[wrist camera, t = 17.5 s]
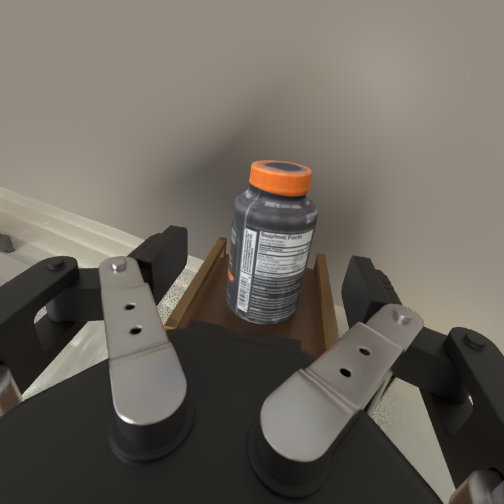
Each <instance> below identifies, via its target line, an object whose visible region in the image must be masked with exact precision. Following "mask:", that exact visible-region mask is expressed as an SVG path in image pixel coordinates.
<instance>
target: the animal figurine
mask: <svg viewBox="0 0 504 504" xmlns="http://www.w3.org/2000/svg"><path fill="white" fill-rule="evenodd" d="M0 248H1V249H3V250H5V251H7V252H12V251H14V247H13V244H12V241H11V238H10V236H7V235H1V234H0Z"/></svg>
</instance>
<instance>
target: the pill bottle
mask: <svg viewBox="0 0 504 504" xmlns="http://www.w3.org/2000/svg"><path fill="white" fill-rule="evenodd" d="M311 176H312V171H311V169H309V168H308V167H305V166H302V165H299V164H295V163H290V162H283V161H270V160H264V161H256V162H254V163H253V164H252V166H251V175H250V179H249V182H250V187H249V189H248V190H247V191H245V192H243V193H241V194H240V195H239V196H238V197H237V198H236V200H235V202H234V206H233V217H232V228H231V243H230V254H229V267H228V280H227V302H228V305H229V307H230V308H231V310H232V311H233V312H234V313H235V314H236V315H238V316H239V317H241V318H243V319H245V320H247V321H249V322H253V323H257V324H277V323H280V322H283V321H285V320H287V319H289V318H290V317H291V316H292V315H293V314H294V312H295V311H296V308H297V304H298V300H299V296H300V292H301V288H302V283H303V279H304V275H305V270H306V266H307V262H308V257H309V253H310V248H311V244H312V239H313V235H314V231H315V226H316V222H317V217H318V213H317V208H316V206H315V205H314V203H313V202H312V201H311V200H310V199H308V198H307V197H306V194H307V192H308V190H309V189H310V182H311Z"/></svg>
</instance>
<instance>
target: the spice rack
mask: <svg viewBox="0 0 504 504" xmlns="http://www.w3.org/2000/svg"><path fill="white" fill-rule="evenodd" d="M226 240H227V238H221V237H219V239H218V240H217V242H216V243H215V245H214V247H213V248H212V250H211V251H210V253H209V255H208V256H207V258H206V260H205V261H204V263H203V264H202V266H201V267H200V269H199V271H198V272H197V274H196V275H195V277H194V278H193V280H192V282H191V283H190V285H189V286H188V288H187V290H186V291H185V293H184V294H183V296H182V298H181V299H180V301H179V302H178V304H177V305H176V307H175V309H174V310H173V312H172V313H171V315H170V317H169V318H168V320H167V321H166V323H165V325H164V329H165V331H166V330H170V329H175V328H183V327H188V325H189V323H190V321H191V320H196V321H201V322H207V323H212V324H217V325H220V326H222V327H225V328H227V329H230V330H232V331H235V332H237V333H239V334H242V335H275V336H280V337H285V338H290V339H296V340H301V349H302V350H304V351H306V352H308V353H310V354H312V355H313V356H315V357H316V358H319V357H320V356H321V355H322V354H323V353H324V352H325V351H327V350H328V349H329V348H330V347H331V346H332V345H333V344H334V343H335V342H336V341H338V340H339V333H338V327H337V322H336V316H335V310H334V304H333V298H332V293H331V287H330V282H329V275H328V269H327V264H326V257H325V255H324V254H317V257H316V261H315V265H314V269H309V268H306V270H305V275H304V279H303V283H302V288H301V292H300V296H299V300H298V304H297V308H296V311H295V312H294V314H293V315H292V316H291V317H290V318H289V319H287V320H285V321H283V322H280V323H277V324H257V323H253V322H249V321H247V320H245V319H243V318H241V317H239V316H238V315H236V314H235V313H234V312H233V311H232V310H231V308H230V307H229V305H228V302H227V280H228V267H229V255H227V254H226Z"/></svg>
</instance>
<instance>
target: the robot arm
mask: <svg viewBox="0 0 504 504" xmlns="http://www.w3.org/2000/svg"><path fill="white" fill-rule="evenodd" d="M186 262H187V229H186V228H184V227H178V226H172V225H171V226H169V227H168V228H167V229H166V230H165V231H164V232H163V233H158V234H155V235H153V236H150V237H149V238H148V239H146V240H145V241H144V242H143V243H142V244H141V245H140V246H138V247H137V248H136V249H135V250H133V251H132V252H131V253H130V254H129V255H128V256H126V257H124V256H119V257H113V258H109V259H106V260H104V261H103V262H101V263H100V265H99V268H78V263H77V260H76V259H75V258H73V257H69V256H57V257H51V258H47V259H44V260H42V261H40V262H38V263H37V264H35V265H34V266H32V267H30V268H29V269H27V270H26V271H24V272H23V273H21V274H19V275H18V276H16V277H15V278H13V279H12V280H10V281H9V282H7V283H5V284H4V285H2V286H1V287H0V504H443V502H442V501H441V499H440V498H439V497H438V495H437V494H436V493H435V492H434V490H433V489H432V488H431V487H430V486H429V484H428V483H427V482H426V481H425V480H424V479H423V477H422V476H421V475H420V474H419V473H418V472H417V470H416V469H415V468H414V467H413V466H412V465H411V463H410V462H409V461H408V460H407V459H406V458H405V456H404V455H403V454H402V453H401V452H400V451H399V449H398V448H397V447H396V446H395V445H394V444H393V442H392V441H391V440H390V439H389V438H388V437H387V435H386V434H385V433H384V432H383V431H382V430H381V428H380V427H379V426H378V425H377V424H376V423H375V421H374V420H373V419H372V418H371V415H372V414H373V412H374V410H375V409H376V407H377V406H378V404H379V403H380V401H381V400H382V398H383V397H384V395H385V394H386V393H387V391H388V390H389V388H390V387H391V385H392V384H393V382H394V381H395V379H396V377H397V378H399V379H401V380H403V381H406V382H408V383H410V384H412V385H415V386H417V387H419V390H420V393H421V395H422V398H423V401H424V404H425V406H426V409H427V412H428V415H429V417H430V420H431V423H432V426H433V428H434V431H435V434H436V437H437V439H438V442H439V445H440V447H441V450H442V453H443V456H444V458H445V461H446V464H447V467H448V469H449V472H450V475H451V478H452V480H453V483H454V486H455V489H456V490H455V491H454V493H453V494H452V495H451V497H450V500H449V504H504V356H503V354H502V353H501V352H500V350H499V349H498V348H497V347H496V345H495V344H494V343H493V342H492V341H490V340H489V339H488V338H486V337H485V336H483V335H481V334H479V333H477V332H475V331H473V330H470V329H467V328H462V327H455V328H452V329H451V331H450V332H449V334H448V336H447V335H444V334H441V333H439V332H436V331H433V330H431V329H428V328H426V327H424V322H423V319H422V318H421V317H420V316H419V315H418V314H417V313H416V312H415V311H413V310H411V309H410V308H407V307H405V306H403V305H402V303H401V301H400V300H399V298H398V296H397V294H396V292H395V291H394V288H393V286H392V285H391V283H390V281H389V279H388V277H387V276H386V275H385V274H383V273H382V272H381V271H380V270H376V269H375V268H374V266H373V264H372V262H371V260H370V258H366V257H359V256H352V258H351V259H350V262H349V265H348V269H347V272H346V275H345V278H344V281H343V285H342V300H343V304H344V308H345V313H346V317H347V321H348V326H349V331H347V332H346V333H345V334H344V335H343V336H342V337H341V338H340V339H339V340H338V341H336V342H335V343H334V344H333V345H332V346H331V347H330V348H329V349H328V350H327V351H325V352H324V353H323V354H322V355H321V356H320V357H319V358H316V357H315V356H313V355H312V354H310V353H308V352H306V351H304V350H302V349H301V340H296V339H290V338H285V337H280V336H275V335H242V334H239V333H237V332H235V331H232V330H230V329H227V328H225V327H222V326H220V325H217V324H212V323H207V322H201V321H196V320H191V321H190V323H189V325H188V327H183V328H175V329H170V330H166V331H165V329H164V326H163V323H162V321H161V318H160V315H159V312H158V309H157V307H156V306H157V305H158V304H159V302H160V301H161V300H162V298H163V297H164V295H165V294H166V293H167V291H168V290H169V289H170V287H171V286H172V284H173V283H174V282H175V280H176V279H177V278H178V276H179V275H180V273H181V272H182V271H183V269H184V268H185V266H186ZM44 306H46V309H47V314H45V315H44V316H43V317H42V318H41V319H40V320H39V321H38V322H36V323H35V324H34V319H35V316H36V314H37V312H38V311H39V310H40V309H41V308H43V307H44ZM97 320H104V323H105V331H106V339H107V348H108V356H109V358H108V359H106V360H104V361H102V362H100V363H98V364H96V365H94V366H92V367H90V368H88V369H86V370H84V371H82V372H80V373H78V374H76V375H74V376H72V377H70V378H68V379H66V380H64V381H62V382H60V383H58V384H56V385H54V386H52V387H50V388H48V389H46V390H44V391H42V392H40V393H38V394H36V395H34V396H32V397H30V398H28V399H26V400H25V401H23V402H22V396H21V395H22V394H23V393H24V392H25V391H26V390H27V389H28V388H29V386H30V385H31V384H32V383H33V382H34V381H35V380H36V379H37V378H38V376H39V375H40V374H41V373H42V372H43V371H44V370H45V369H46V368H47V366H48V365H49V364H50V363H51V362H52V361H53V360H54V359H55V358H56V356H57V355H58V354H59V353H60V352H61V351H62V350H63V349H64V347H65V346H66V345H67V344H68V343H69V342H70V341H71V340H72V339H73V337H74V336H75V335H76V334H77V333H78V332H79V331H80V330H81V329H82V327H83V326H84V325H85V324H86V323H87V322H88V321H97ZM470 395H471V398H472V401H473V405H472V403H471V402H470V400H469V398H468V397H469V396H470Z"/></svg>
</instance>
